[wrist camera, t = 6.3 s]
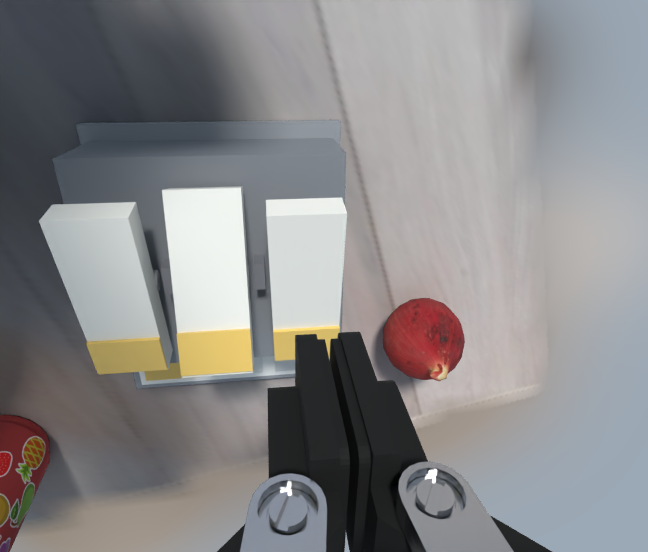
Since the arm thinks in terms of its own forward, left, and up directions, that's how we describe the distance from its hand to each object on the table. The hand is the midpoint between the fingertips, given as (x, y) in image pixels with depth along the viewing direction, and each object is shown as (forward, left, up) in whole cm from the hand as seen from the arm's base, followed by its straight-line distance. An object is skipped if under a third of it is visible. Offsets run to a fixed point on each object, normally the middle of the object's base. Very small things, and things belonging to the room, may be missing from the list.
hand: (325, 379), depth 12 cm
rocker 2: (+4, -4, -14) cm, 15 cm away
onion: (+11, +10, -21) cm, 26 cm away
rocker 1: (+4, -9, -14) cm, 17 cm away
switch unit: (+6, -4, -21) cm, 22 cm away
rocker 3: (+4, +1, -14) cm, 14 cm away
